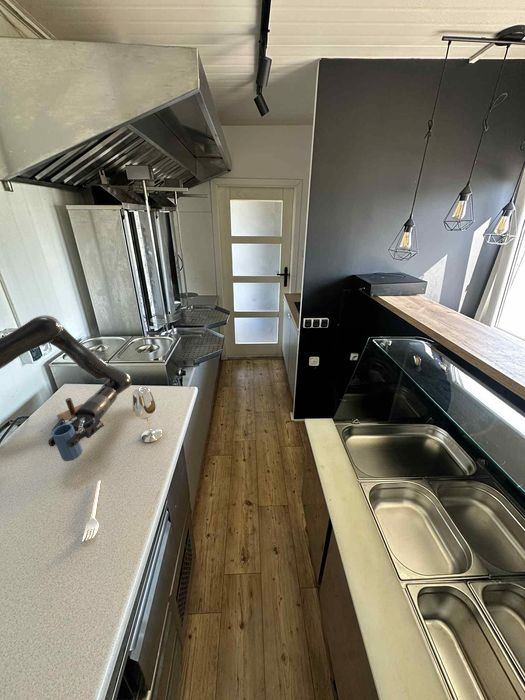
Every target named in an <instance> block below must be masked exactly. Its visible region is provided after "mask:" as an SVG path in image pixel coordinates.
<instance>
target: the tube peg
mask: <svg viewBox="0 0 525 700" xmlns="http://www.w3.org/2000/svg"><path fill="white" fill-rule="evenodd" d="M75 434H76V433H75V430H74V427H73V426H72V424H63V425H60V426H58V427H57V428H55V429H54V430H53V431H52V430H51V433H50V435H51V437H53V439H54V441H55V446H56V448H57V450H58V453H59V455H60V457H61V459H62V460H63V461H64V462H70V461H74V460H76V459H78V458H80V456H81V455H82V454H83V448H82V445H81V443H80V441H79V442H78V443H77V444H76V445H75V446H74V447H69V445H68V442H69V440H70V439H71V438H72V437H73V436H74V435H75Z"/></svg>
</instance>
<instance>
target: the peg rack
mask: <svg viewBox="0 0 525 700" xmlns="http://www.w3.org/2000/svg"><path fill="white" fill-rule="evenodd" d="M64 400H65V403H66V406H67V408H68V410H65V411H63V412H61V413H59V414H57V415H56V418H57V419H58V421H59V420H60V419H62V418H64V420H69V419H70V418H72V417H74V415H75V413H76V411H77V410H78V409H79V408H80V407H81V406H82V405H83V404H84V403H81V404H79V405H77V406H75V405H74V403H73V400H72V398H71V397H67V398H65V399H64ZM100 422H101V425H102V427H104V426H105V425H104V422H103V421H102V420H100ZM89 432H91V430H90V431H89ZM75 433H76V434H78V431H75Z"/></svg>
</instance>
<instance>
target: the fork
mask: <svg viewBox="0 0 525 700" xmlns="http://www.w3.org/2000/svg"><path fill="white" fill-rule="evenodd" d="M101 483H102V481H101V480H97V484H96V489H95V493H94V499H93V504H92V509H91V514H90V519H89V520H88V522H86V525H85V528H84V533H83V535H82V540H81V543H83V542H86V541H87V540H90V539H93V538H94V537H95V535H97V532H98V531H99V521H98V520H97V519H96V515H97V508H98V500H99V495H100V489H101ZM84 540H85V541H84Z"/></svg>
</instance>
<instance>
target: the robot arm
mask: <svg viewBox="0 0 525 700" xmlns="http://www.w3.org/2000/svg"><path fill="white" fill-rule="evenodd" d="M46 344H50V345H52V346H53V347H56V348H57V349H59V350H60V351H61V352H63V353H64V354H65V355H66V356H67V357H68V358H69V359H71V360H72V361H73V362H74V363H75V364H76V366H78V367H79V368H80V369H81V370H82V371H84V372H85V373H86V374H88V375H89V376H91V377H92V378H94V379H95V380H102V379H107V380H106V381H105V382H104V383H103V384H102V386H100V388H99V389H98V390H97V391H96V392H95V393H94V394H93V395H92V396H90V397H89V398H88V399H87V400H86V401H84V403H82V404H83V405H82V406H81V407H80V408H79V409H78V410H77V411H76V413H75V415H74V417H72V418H70V419H69V420H64V418H62V419H60V420H59V419H58V421H57V423H56V424H55V425H54V427H53V428H52V429H51V432H52V431H53V430H54V429H55V428H57V427H58V426H60V425H63V424H72V426H73V427H74V430H75V431H78V434H75V435H74V436H73V437H72V438H71V439H70V440H69V442H68V445H69V447H74V446H75V445H76V444H77V443H78V442H79V443H80V441H81V440H83V439H84V438H86V439H89V438H91V437H92V436H94V434H95V433H96V432H98V431H99V430H100V429H101V428H102V427H103V426H102V425H101V422H102V421H101V419H102V418H103V417H104V415H105V414H106V413H107V412H108V411H109V409H110V408H111V406H112V405H113V404H114V403H115V402H116V400H117V399H118V396H119V395H120V394H121V393H123V392H124V391H126V390H127V389H129V388H130V387H131V386H132V383H133V380H132V377H131V376H130V374H129V373H127V371H124V370H122V369H120V368H117V367H115V366H113V365H111V364H109V363H107V362H106V361H105V360H103V359H102V358H101V357H100V356H99V355H97V354H96V353H94V352H93V351H92V350H90V348H88V347H86V346H85V345H84V344H82V343H81V342H80V341H79V340H78V339H77V338H75V337H74V336H73V335H72V334H71V333H70V332H69V331H68V330H67V329H66V328H65V327H64V326H63V325H62V323H61V322H60V321H59V320H58V319H57V318H56V317H54V316H52V315H47V314H45V315H44V314H43V315H38V316H36V317H33V318H31V319H30V320H29V321H28V322H26V323H24V324H23V325H21V326H20V327H18V328H16V329H15V330H14V331H11V332H10V333H8V334H6V335H3V336H1V337H0V370H1V369H3V368H5V367H6V366H7V365H9V364H10V363H12V362H13V361H14V360H16V359H18V358H19V357H20V356H22V355H24V354H26V353H28V352H30V351H31V350H32V351H33V350H34V349H36V348H39V347H41V346H44V345H46ZM100 421H101V422H100ZM90 430H91V432H89V431H90ZM48 445H49V447H51V448H52V447H55V446H56V444H55V441H54V439H53V437H52V436H51V438H49V439H48Z"/></svg>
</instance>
